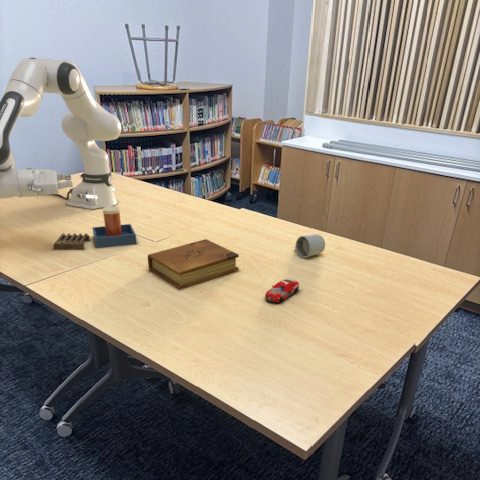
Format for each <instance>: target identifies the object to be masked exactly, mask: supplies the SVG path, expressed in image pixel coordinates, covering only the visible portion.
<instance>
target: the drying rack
mask: <svg viewBox="0 0 480 480" xmlns="http://www.w3.org/2000/svg"><path fill="white" fill-rule="evenodd" d="M85 241H88V242H90V241H91V237H90V235H89V234H88V233H84V234H82V233H79V234H78V235H77V233H73V234H71V233H67V234H66V233H64V232H63V233H61V235H59V237H57V239H56V240H55V242H54V244H53V245H52V246H53V250H85V244H84V242H85Z"/></svg>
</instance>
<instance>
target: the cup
mask: <svg viewBox="0 0 480 480" xmlns="http://www.w3.org/2000/svg"><path fill="white" fill-rule="evenodd" d="M102 214H103V216H102V217H103V224H104V226H105V231H106V237H107V236H117V235H122V228H121V225H122V220H121V212H120V207H119V206H115V205H113V206H109V207H103V208H102Z"/></svg>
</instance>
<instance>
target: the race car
mask: <svg viewBox="0 0 480 480" xmlns="http://www.w3.org/2000/svg"><path fill="white" fill-rule="evenodd" d="M299 290H300V283H299V281H298V280H295V279H292V278H284V279H281V280H280V281H278V282H277V283H275V284H274V285H271V288H269V290H267V291H266V292H265V295H264V297H265V300H266V301H268V302H270V303H278V304H282V303H283V301H284V300H286V299H288V298H289V297H291V296H292V295H296V294H297V292H298V291H299Z"/></svg>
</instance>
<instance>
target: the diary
mask: <svg viewBox="0 0 480 480" xmlns="http://www.w3.org/2000/svg"><path fill="white" fill-rule="evenodd" d="M239 257H240V256H239V253H236V252H235V251H232V250H230V249H228V248H226V247H224V246H221V245H219V244H217V243H215V242H213V241H211V240H209V239H207V238H205V239H201V240H198V241H194V242H191V243H190V242H189V243H186V244H184V245H179V246H175V247H171V248H168V249H164V250H159V251H156V252H153V253H149V254H147V265H148V266H147V267H148V270H149V271H150V272H152V273H154V274H155V275H157V276H158V277H160V278H161V279H163V280H164V281H166V282H168V283H169V284H171V285H172V286H174V287H175V288H177V289H179V290H183V289H185V288H188V287H191V286H195V285H197V284H201V283H204V282H207V281H210V280H213V279H216V278H219V277H223V276H225V275H228V274H232V273H235V272H238V271H239V267H238V266H237V258H239Z"/></svg>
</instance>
